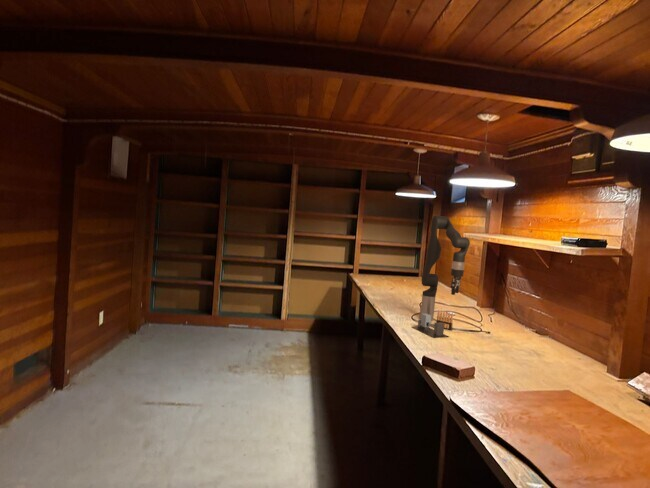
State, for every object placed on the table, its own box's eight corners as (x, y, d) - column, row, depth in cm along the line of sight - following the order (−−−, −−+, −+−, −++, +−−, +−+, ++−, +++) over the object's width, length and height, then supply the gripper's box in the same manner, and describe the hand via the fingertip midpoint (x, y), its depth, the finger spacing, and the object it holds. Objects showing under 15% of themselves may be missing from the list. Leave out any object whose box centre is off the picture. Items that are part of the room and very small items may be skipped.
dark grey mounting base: (411, 327, 263) (412, 315, 263) (426, 326, 268) (427, 315, 268) (433, 337, 242) (434, 324, 242) (449, 337, 247) (450, 324, 246)
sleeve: (420, 325, 261) (421, 313, 261) (425, 324, 263) (426, 313, 262) (425, 327, 256) (426, 315, 256) (430, 327, 258) (431, 315, 258)
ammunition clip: (452, 330, 265) (454, 312, 264) (451, 330, 263) (453, 312, 262) (436, 326, 270) (438, 309, 270) (435, 327, 269) (437, 309, 268)
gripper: (454, 266, 261) (451, 291, 263) (448, 268, 249) (445, 294, 251) (466, 268, 258) (463, 293, 259) (461, 270, 245) (457, 296, 247)
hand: (454, 293), depth 255 cm, fingers open, 8 cm apart
